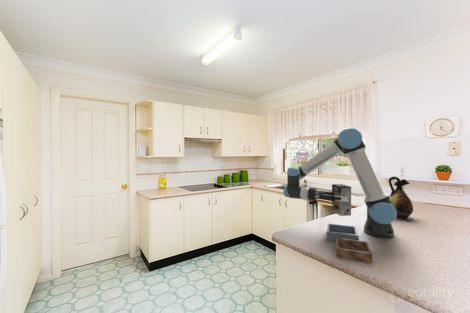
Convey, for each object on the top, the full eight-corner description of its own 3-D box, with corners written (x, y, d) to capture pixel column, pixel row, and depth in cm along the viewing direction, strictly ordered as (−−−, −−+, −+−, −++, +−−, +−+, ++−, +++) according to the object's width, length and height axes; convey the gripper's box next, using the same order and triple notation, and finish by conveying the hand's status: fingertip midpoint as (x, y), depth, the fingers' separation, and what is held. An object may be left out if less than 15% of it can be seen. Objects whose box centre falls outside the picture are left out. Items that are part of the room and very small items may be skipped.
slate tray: (355, 235, 125) (355, 226, 125) (358, 245, 112) (358, 235, 112) (327, 231, 132) (327, 223, 132) (327, 240, 118) (327, 231, 118)
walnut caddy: (367, 249, 106) (367, 241, 106) (372, 262, 94) (372, 253, 93) (336, 245, 112) (336, 237, 112) (336, 257, 99) (336, 248, 99)
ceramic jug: (411, 216, 160) (411, 176, 160) (414, 222, 147) (414, 178, 147) (383, 213, 169) (383, 175, 169) (384, 218, 156) (384, 177, 156)
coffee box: (331, 211, 126) (331, 184, 126) (342, 211, 127) (341, 183, 126) (340, 216, 117) (340, 186, 117) (351, 215, 117) (351, 186, 117)
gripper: (314, 196, 141) (352, 200, 129) (303, 203, 122) (346, 208, 110) (313, 185, 141) (351, 187, 129) (303, 190, 122) (346, 194, 110)
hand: (349, 197), depth 119 cm, fingers closed on coffee box, 10 cm apart
